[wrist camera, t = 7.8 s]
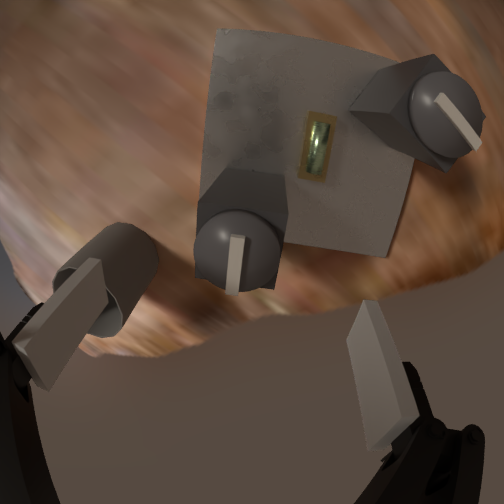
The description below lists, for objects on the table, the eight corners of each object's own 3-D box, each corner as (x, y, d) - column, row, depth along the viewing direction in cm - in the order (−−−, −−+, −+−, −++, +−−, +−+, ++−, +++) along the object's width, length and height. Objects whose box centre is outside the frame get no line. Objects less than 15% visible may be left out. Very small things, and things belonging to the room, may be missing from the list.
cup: (119, 208, 30) (68, 249, 21) (171, 256, 32) (137, 312, 23) (89, 252, 33) (44, 297, 24) (135, 294, 35) (102, 348, 26)
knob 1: (225, 167, 26) (191, 209, 16) (284, 175, 26) (289, 223, 16) (220, 221, 28) (189, 289, 18) (275, 229, 28) (273, 302, 18)
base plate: (219, 31, 20) (217, 28, 20) (424, 74, 20) (429, 74, 19) (200, 225, 30) (197, 229, 29) (382, 253, 30) (385, 257, 29)
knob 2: (348, 110, 22) (398, 114, 12) (380, 68, 20) (445, 51, 10) (391, 148, 23) (457, 179, 13) (422, 108, 21) (498, 118, 11)
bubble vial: (307, 110, 23) (310, 110, 20) (333, 115, 23) (339, 116, 20) (296, 174, 26) (298, 180, 23) (322, 178, 26) (326, 186, 23)
